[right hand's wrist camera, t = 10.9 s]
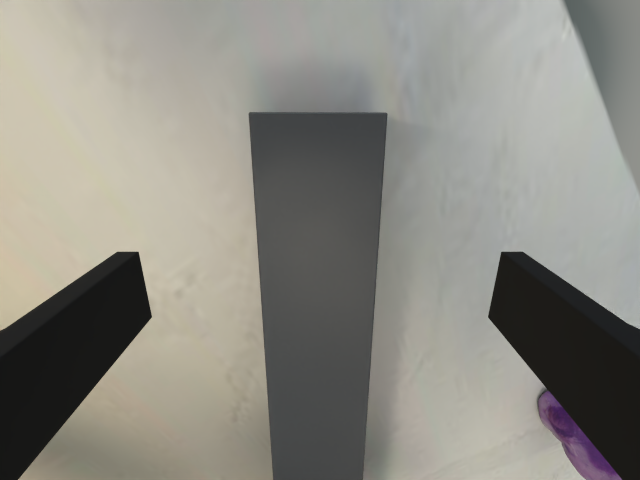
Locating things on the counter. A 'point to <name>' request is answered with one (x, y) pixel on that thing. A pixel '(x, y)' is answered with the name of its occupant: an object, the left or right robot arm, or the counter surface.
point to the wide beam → (317, 283)
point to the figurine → (574, 441)
